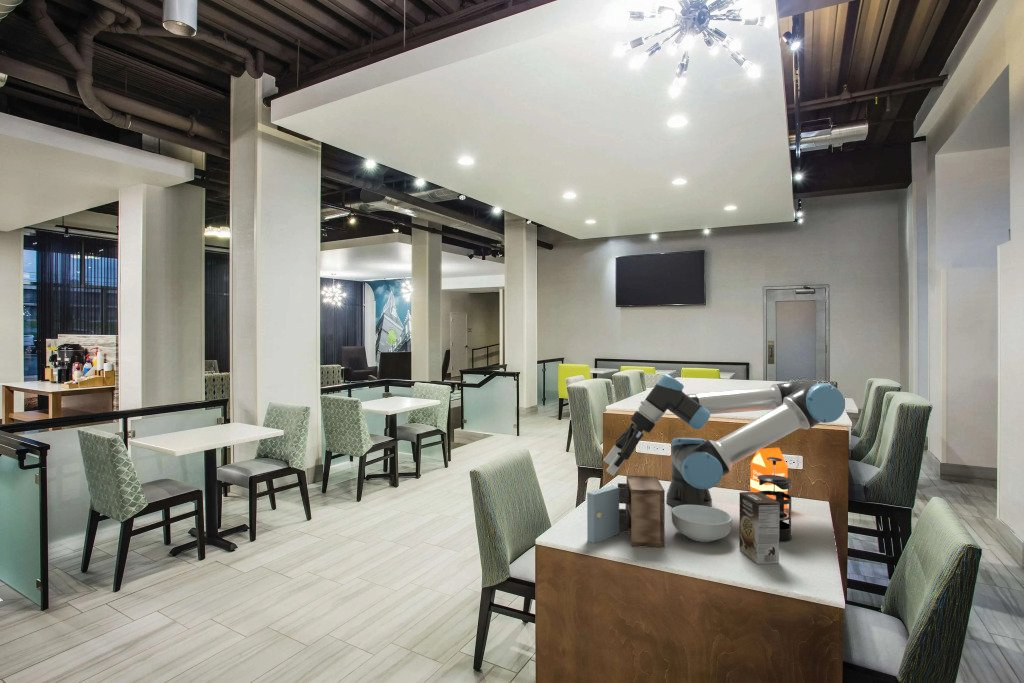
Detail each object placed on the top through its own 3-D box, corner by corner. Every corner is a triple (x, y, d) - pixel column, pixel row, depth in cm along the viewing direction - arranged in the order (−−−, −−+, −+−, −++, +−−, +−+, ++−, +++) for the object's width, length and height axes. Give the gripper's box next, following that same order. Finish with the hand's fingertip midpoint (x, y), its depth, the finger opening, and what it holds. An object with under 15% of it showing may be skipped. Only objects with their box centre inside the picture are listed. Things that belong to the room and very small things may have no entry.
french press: (785, 545, 145) (786, 464, 144) (750, 536, 151) (751, 458, 151) (797, 533, 153) (798, 456, 153) (764, 525, 160) (764, 451, 159)
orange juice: (787, 508, 175) (788, 449, 175) (765, 510, 173) (766, 451, 173) (771, 501, 183) (771, 445, 183) (749, 503, 181) (750, 446, 181)
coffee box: (738, 549, 142) (738, 491, 142) (760, 549, 142) (760, 491, 142) (756, 564, 133) (756, 502, 133) (780, 563, 133) (780, 501, 133)
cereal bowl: (733, 552, 140) (733, 527, 140) (669, 544, 146) (669, 519, 146) (730, 530, 156) (730, 507, 156) (673, 523, 162) (673, 501, 162)
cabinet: (655, 526, 160) (655, 474, 159) (664, 547, 143) (664, 490, 143) (617, 524, 161) (617, 473, 161) (622, 545, 145) (622, 489, 145)
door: (612, 531, 155) (612, 485, 155) (622, 535, 152) (622, 488, 152) (587, 540, 148) (587, 492, 148) (596, 544, 146) (596, 495, 145)
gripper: (632, 404, 181) (596, 452, 183) (642, 415, 157) (600, 470, 158) (650, 417, 181) (614, 465, 182) (662, 430, 156) (620, 485, 158)
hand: (607, 467), depth 170 cm, fingers open, 13 cm apart
